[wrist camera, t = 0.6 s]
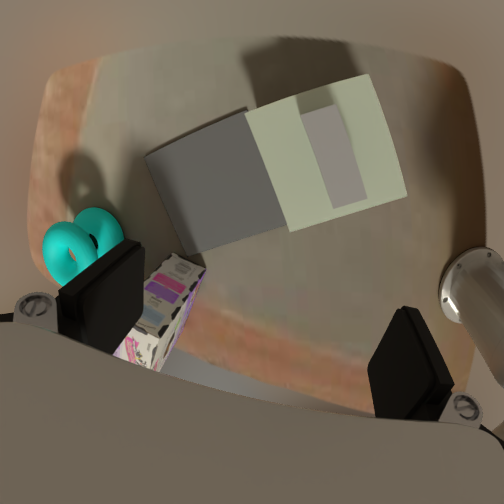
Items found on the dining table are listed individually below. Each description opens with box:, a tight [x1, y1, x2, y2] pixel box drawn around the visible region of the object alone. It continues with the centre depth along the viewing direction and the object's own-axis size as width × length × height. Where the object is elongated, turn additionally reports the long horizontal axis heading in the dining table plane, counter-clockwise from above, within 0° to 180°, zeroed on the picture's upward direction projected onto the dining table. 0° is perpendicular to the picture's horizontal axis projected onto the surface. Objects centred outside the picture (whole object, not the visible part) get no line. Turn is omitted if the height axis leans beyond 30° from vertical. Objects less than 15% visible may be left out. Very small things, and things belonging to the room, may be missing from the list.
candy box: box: [113, 253, 206, 372], centre depth 39 cm, size 14×6×16 cm, turn 156°
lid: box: [244, 74, 407, 232], centre depth 26 cm, size 13×13×7 cm
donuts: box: [42, 207, 124, 286], centre depth 40 cm, size 10×10×10 cm
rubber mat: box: [144, 110, 287, 257], centre depth 38 cm, size 15×15×1 cm
